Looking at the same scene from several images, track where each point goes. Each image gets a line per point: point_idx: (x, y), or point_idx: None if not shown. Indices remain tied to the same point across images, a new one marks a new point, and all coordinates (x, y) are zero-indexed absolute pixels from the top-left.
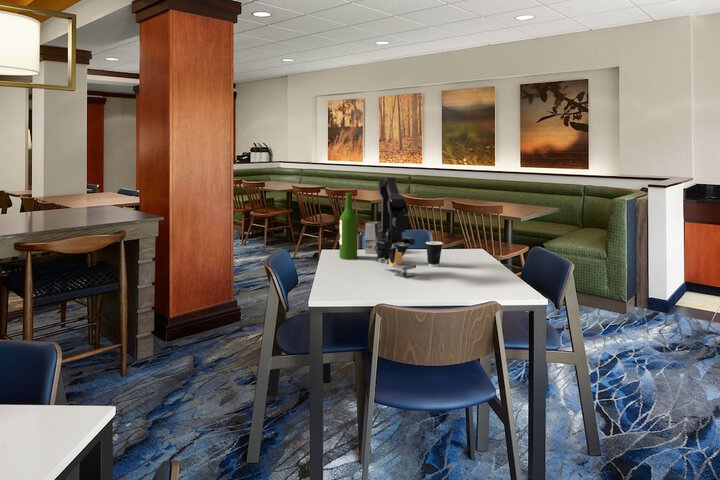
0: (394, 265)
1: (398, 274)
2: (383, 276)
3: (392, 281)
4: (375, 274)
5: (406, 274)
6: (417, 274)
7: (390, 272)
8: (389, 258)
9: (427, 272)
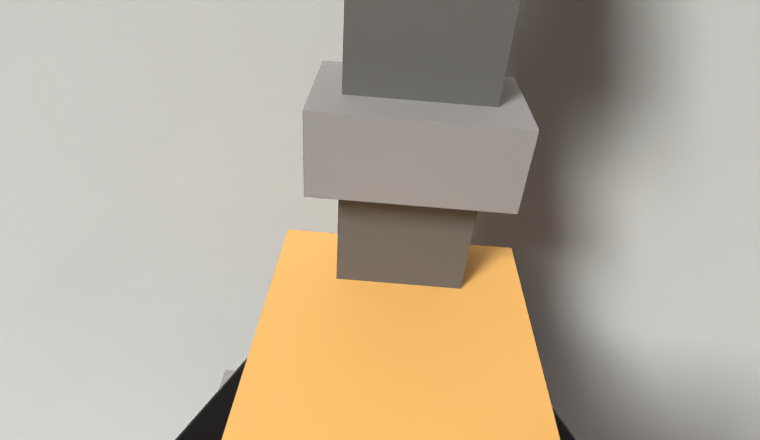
0: None
1: None
2: (83, 225)
3: (53, 416)
4: (20, 38)
5: None
6: None
7: None
8: (245, 378)
9: (748, 434)
